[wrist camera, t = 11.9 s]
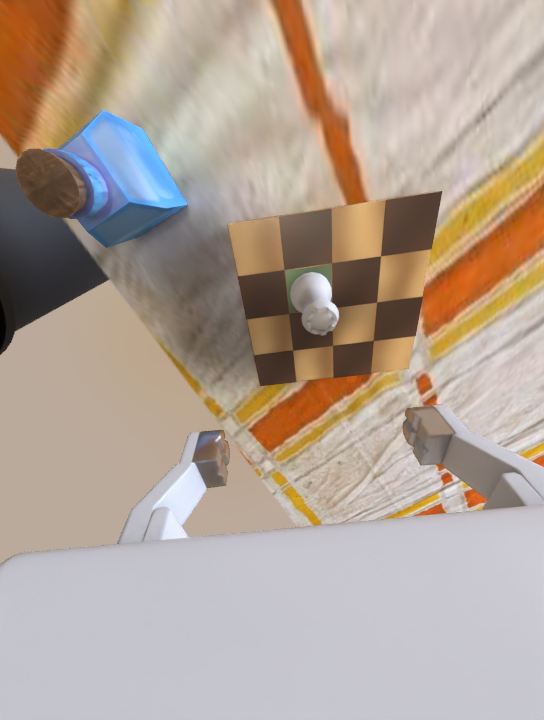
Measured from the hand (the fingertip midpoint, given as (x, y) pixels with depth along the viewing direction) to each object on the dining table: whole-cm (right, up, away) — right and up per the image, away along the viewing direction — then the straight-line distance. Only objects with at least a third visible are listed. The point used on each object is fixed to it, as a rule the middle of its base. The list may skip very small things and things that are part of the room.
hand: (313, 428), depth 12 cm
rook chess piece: (+2, +11, +17) cm, 20 cm away
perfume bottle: (-14, +19, +13) cm, 27 cm away
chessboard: (+5, +10, +19) cm, 22 cm away
